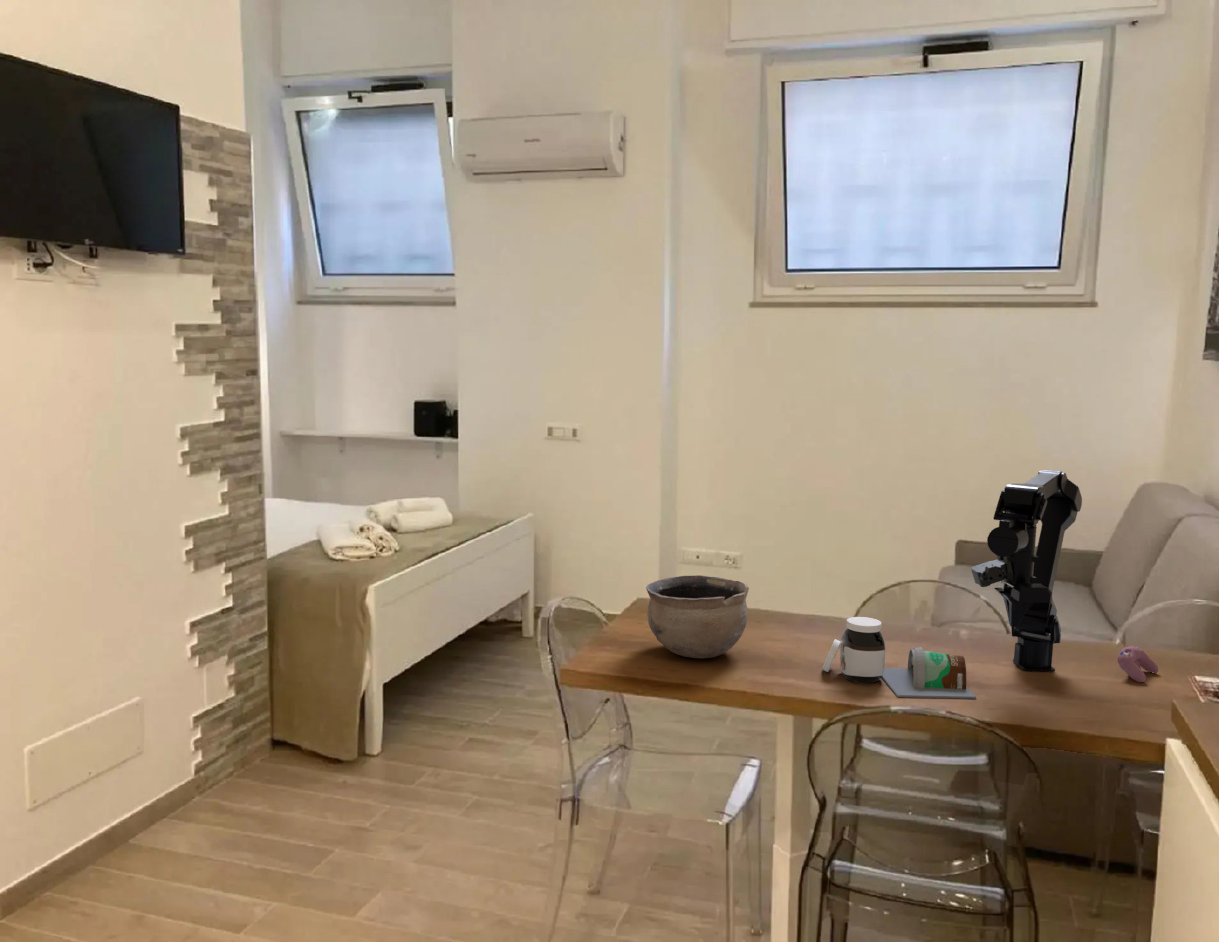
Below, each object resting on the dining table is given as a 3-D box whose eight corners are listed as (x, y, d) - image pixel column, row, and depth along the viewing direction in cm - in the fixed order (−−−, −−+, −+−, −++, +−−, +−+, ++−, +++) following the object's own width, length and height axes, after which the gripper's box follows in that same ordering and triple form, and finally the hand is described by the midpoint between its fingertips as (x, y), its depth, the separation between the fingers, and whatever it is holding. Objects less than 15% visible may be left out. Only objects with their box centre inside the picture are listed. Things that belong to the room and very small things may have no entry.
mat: (947, 671, 201) (947, 669, 201) (976, 698, 186) (976, 696, 186) (875, 669, 202) (875, 667, 201) (897, 697, 186) (897, 695, 186)
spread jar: (888, 685, 192) (891, 628, 191) (832, 686, 191) (835, 628, 190) (867, 666, 204) (870, 612, 202) (815, 666, 203) (817, 612, 202)
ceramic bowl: (721, 676, 196) (723, 603, 194) (626, 657, 206) (628, 588, 204) (761, 648, 215) (763, 581, 213) (672, 632, 225) (674, 568, 223)
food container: (969, 661, 187) (915, 656, 189) (967, 691, 188) (913, 687, 190) (959, 642, 199) (908, 638, 201) (957, 671, 200) (907, 667, 202)
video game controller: (1139, 676, 206) (1125, 644, 207) (1161, 671, 202) (1147, 639, 204) (1123, 687, 198) (1109, 654, 200) (1146, 682, 195) (1132, 648, 197)
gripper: (960, 539, 199) (955, 613, 201) (996, 558, 181) (990, 639, 183) (1015, 540, 199) (1009, 614, 201) (1056, 559, 181) (1049, 641, 183)
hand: (1013, 626), depth 192 cm, fingers closed
